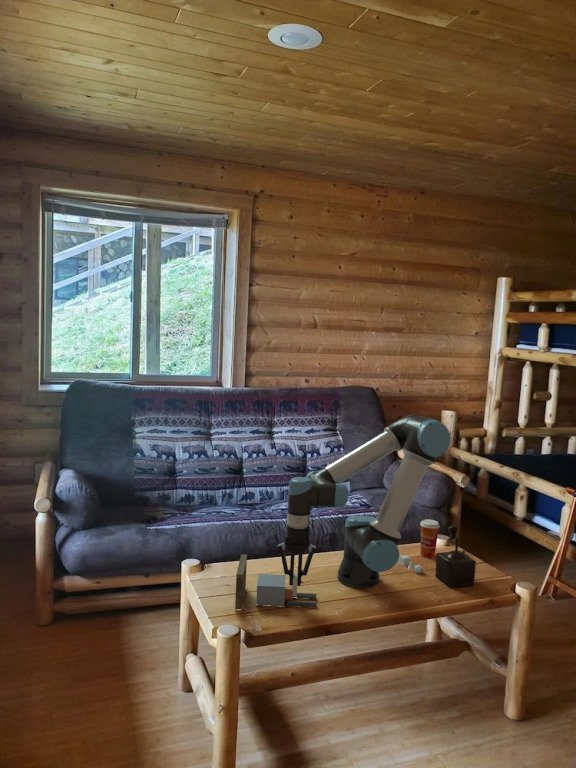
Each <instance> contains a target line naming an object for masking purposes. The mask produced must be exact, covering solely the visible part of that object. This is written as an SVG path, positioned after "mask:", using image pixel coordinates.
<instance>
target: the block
mask: <svg viewBox="0 0 576 768" xmlns="http://www.w3.org/2000/svg"><path fill="white" fill-rule="evenodd" d="M285 589H286V574H271V573H268V574H267V573H258V576H257V584H256V600H255V601H256V602H255V605H256V604H258V605H271V606H281V607H280V608H285V601H284V598H285Z"/></svg>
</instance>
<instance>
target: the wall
mask: <svg viewBox="0 0 576 768" xmlns="http://www.w3.org/2000/svg"><path fill="white" fill-rule="evenodd" d="M247 559H248V554H241V553H240V558H239V562H238V567H237V570H236V577H235V597H234V598H235V599H234V600H235V601H234V610H235V609H241V608H243V605H242V603H243V604H244V599H243V598H245V594H244V592H245V593H246V589H245V587H246V586H247V565H248V564H247V563H248V562H247V561H248V560H247ZM246 588H247V587H246Z"/></svg>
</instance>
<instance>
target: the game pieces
mask: <svg viewBox="0 0 576 768" xmlns="http://www.w3.org/2000/svg"><path fill="white" fill-rule="evenodd" d="M410 560H411V557H409V556H407V554H404V555H399V559H398V564H400V565H401V564H402V565H401V566H403V567H405V566H407V567H408V568H407V569H408V570H411V571H414V572H415V573H416V574H417V575H419V574H422V573H423V572H424V566H422V565H420V564H417V565H414V562H412V561H410ZM412 569H413V570H412Z"/></svg>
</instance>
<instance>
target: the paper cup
mask: <svg viewBox="0 0 576 768" xmlns="http://www.w3.org/2000/svg"><path fill="white" fill-rule="evenodd" d="M419 525H420V556H421V557H423V558H426V559H432V558H435V555H436V549H437V541H438V534H439V529H440V528H441V527H440V524H439V522H438V521H437V520H434V519H422V520H421V521H420V524H419Z"/></svg>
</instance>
